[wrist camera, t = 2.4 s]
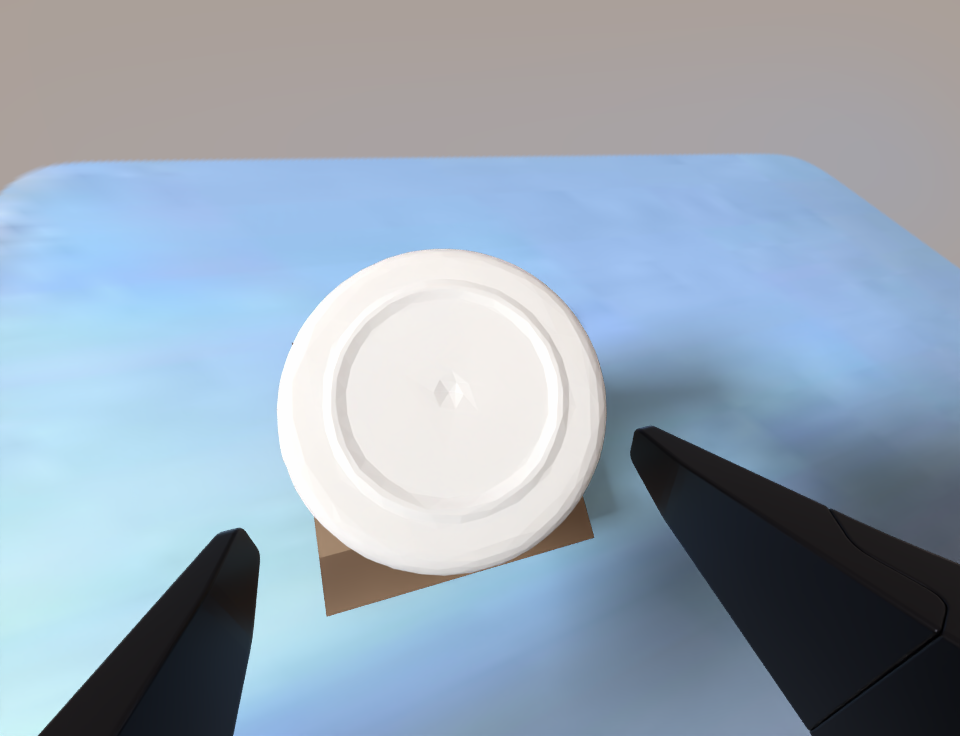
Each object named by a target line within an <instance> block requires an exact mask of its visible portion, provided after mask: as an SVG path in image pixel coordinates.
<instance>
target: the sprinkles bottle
mask: <svg viewBox="0 0 960 736" xmlns="http://www.w3.org/2000/svg"><path fill="white" fill-rule="evenodd" d="M606 414H607V411H606V392H605V385H604V380H603V376H602V372H601V368H600V364H599V361H598V358H597V355H596V352H595V350H594V347H593V345H592V343H591V341H590V339H589V337H588V335H587V333H586V331H585V330H584V328H583V327H582V325H581V324H580V322H579V320H578V319H577V317H576V316H575V315H574V313H573V312H572V311H571V310H570V308H569V307H568V306H567V305H566V304H565V303H564V301H563V300H562V299H561V298H560V297H559V296H558V295H557V294H556V293H555V292H553V291H552V290H551V289H550V288H549V287H548V286H547V285H545V284H544V283H543V282H541V281H540V280H539V279H537V278H536V277H534V276H533V275H531V274H530V273H528V272H526V271H525V270H523V269H521V268H519V267H517V266H515V265H513V264H511V263H508V262H506V261H504V260H501V259H498V258H495V257H492V256H489V255H486V254H482V253H477V252H473V251H466V250H456V249H431V250H421V251H414V252H408V253H404V254H401V255H397V256H394V257H390V258H387V259H384V260H382V261H380V262H378V263H376V264H374V265H371V266H369V267H367V268H365V269H363V270H361V271H359V272H358V273H356V274H355V275H353V276H352V277H350V278H349V279H347V280H346V281H344V282H343V283H341V284H340V285H339V286H338V287H337V288H335V289H334V290H333V291H332V292H331V293H330V294H329V295H327V296H326V297H325V299H324V300H323V301H322V302H321V303H320V304H319V305H318V306H317V307H316V309H315V310H314V311H313V312H312V314H311V315H310V316H309V317H308V319H307V320H306V322H305V323H304V325H303V326H302V328H301V329H300V331H299V333H298V335H297V337H296V339H295V341H294V343H293V345H292V348H291V350H290V352H289V354H288V356H287V360H286V363H285V366H284V369H283V372H282V376H281V381H280V386H279V393H278V404H277V417H278V433H279V440H280V447H281V452H282V457H283V460H284V462H285V464H286V466H287V468H288V472H289V475H290V478H291V480H292V482H293V484H294V487H295V489H296V491H297V492H298V494H299V495H300V497H301V499H302V500H303V502H304V504H305V505H306V506H307V508H308V509H309V510H310V512H311V513H312V515H313V516H314V517H315V518H316V519H317V520H318V521H319V522H320V523H321V524H322V525H323V526H324V527H325V528H326V529H327V530H328V531H329V532H331V533H332V534H333V535H334V536H335V537H336V538H338V539H339V540H340V541H341V542H342V543H344V544H345V545H346V546H347V547H349V548H351V549H352V550H354V551H356V552H357V553H359V554H360V555H362V556H364V557H365V558H367V559H370V560H372V561H374V562H377V563H380V564H383V565H386V566H389V567H391V568H393V569H398V570H402V571H407V572H412V573H417V574H426V575H442V576H447V575H456V574H464V573H472V572H476V571H479V570H483V569H486V568H490V567H493V566H497V565H500V564H503V563H505V562H507V561H509V560H512V559H514V558H516V557H517V556H519V555H521V554H523V553H525V552H527V551H529V550H530V549H531V548H533V547H534V546H536V545H537V544H538V543H540V542H541V541H542V540H544V539H545V538H546V537H547V536H548V535H550V534H551V533H552V532H553V531H554V530H555V529H556V528H557V527H558V526H559V525H560V524H561V523H562V522H563V521H564V520H565V519H566V518H567V517H568V515H569V514H570V513H571V512H572V511H573V509H574V508H575V506H576V505H577V504H578V502H579V501H580V499H581V497H582V496H583V494H584V492H585V490H586V489H587V487H588V485H589V483H590V481H591V479H592V476H593V474H594V472H595V469H596V466H597V464H598V461H599V459H600V454H601V450H602V447H603V442H604V436H605V427H606Z"/></svg>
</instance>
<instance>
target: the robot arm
mask: <svg viewBox="0 0 960 736" xmlns="http://www.w3.org/2000/svg"><path fill="white" fill-rule="evenodd" d="M630 456H631V460H632V462H633V464H634V466H635V468H636V470H637V471H638V473H639V475H640V477H641V479H642V481H643V482H644V484H645V486H646V488H647V490H648V492H649V493H650V495H651V497H652V499H653V501H654V502H655V504H656V506H657V508H658V510H659V511H660V513H661V515H662V516H663V518H664V520H665V521H666V523H667V524H668V526H669V527H670V529H671V530H672V532H673V533H674V535H675V536H676V537H677V539H678V540H679V542H680V543H681V545H682V546H683V548H684V549H685V551H686V552H687V554H688V555H689V556H690V558H691V559H692V561H693V562H694V564H695V565H696V567H697V568H698V570H699V571H700V573H701V574H702V575H703V577H704V578H705V580H706V581H707V583H708V584H709V586H710V587H711V589H712V590H713V592H714V593H715V594H716V596H717V597H718V599H719V600H720V602H721V603H722V605H723V606H724V608H725V609H726V611H727V612H728V613H729V615H730V616H731V618H732V619H733V621H734V622H735V624H736V625H737V627H738V628H739V630H740V631H741V632H742V634H743V635H744V637H745V638H746V640H747V641H748V643H749V644H750V646H751V647H752V649H753V650H754V651H755V653H756V654H757V656H758V657H759V659H760V660H761V662H762V663H763V665H764V666H765V668H766V669H767V670H768V672H769V673H770V675H771V676H772V678H773V679H774V681H775V682H776V684H777V685H778V687H779V688H780V689H781V691H782V692H783V694H784V695H785V697H786V698H787V700H788V701H789V703H790V704H791V706H792V707H793V708H794V710H795V711H796V713H797V714H798V716H799V717H800V719H801V720H802V722H803V723H804V725H805V726H806V727H807V729H808V730H810V734H811V735H812V736H960V564H958V563H955V562H953V561H951V560H948V559H946V558H943V557H941V556H938V555H936V554H933V553H931V552H929V551H926V550H924V549H921V548H919V547H917V546H914V545H912V544H909V543H907V542H905V541H902V540H900V539H898V538H895V537H893V536H890V535H888V534H886V533H884V532H882V531H879V530H877V529H875V528H873V527H870V526H868V525H866V524H864V523H862V522H859V521H857V520H855V519H853V518H851V517H848V516H846V515H844V514H842V513H840V512H838V511H835V510H833V509H828V508H827V507H826V506H824V505H822V504H820V503H818V502H816V501H814V500H812V499H809V498H807V497H805V496H803V495H801V494H799V493H797V492H794V491H792V490H790V489H788V488H786V487H784V486H781V485H779V484H777V483H775V482H773V481H771V480H769V479H766V478H764V477H762V476H760V475H758V474H756V473H754V472H751V471H749V470H747V469H745V468H743V467H741V466H738V465H736V464H734V463H732V462H730V461H728V460H726V459H723V458H721V457H719V456H717V455H715V454H713V453H711V452H708V451H706V450H704V449H702V448H700V447H698V446H696V445H693V444H691V443H689V442H687V441H685V440H683V439H680V438H678V437H676V436H674V435H672V434H670V433H668V432H665V431H663V430H661V429H659V428H657V427H654V426H646V427H642V428H638V429H636V431H635V432H634V436H633V441H632V446H631V451H630ZM259 566H260V554H259V551H258V549H257V547H256V546H255V544H254V543H253V541H252V540H251V538H250V537H249V536H248V534H247V533H246V531H245V530H244V529H242V528H235V529H231V530H227V531H223V532H220V533H219V534H217V535H216V536H215V537H214V538H213V539H212V540H211V541H210V542H209V544H208V545H207V546H206V547H205V548H204V549H203V550H202V551H201V553H200V554H199V555H198V556H197V557H196V558H195V559H194V561H193V562H192V563H191V564H190V565H189V566H188V567H187V568H186V570H185V571H184V572H183V573H182V574H181V575H180V576H179V577H178V579H177V580H176V581H175V582H174V583H173V584H172V585H171V586H170V588H169V589H168V590H167V591H166V592H165V593H164V594H163V595H162V597H161V598H160V599H159V600H158V601H157V602H156V603H155V604H154V606H153V607H152V608H151V609H150V610H149V611H148V612H147V613H146V615H145V616H144V617H143V618H142V619H141V620H140V621H139V622H138V624H137V625H136V626H135V627H134V628H133V629H132V630H131V631H130V633H129V634H128V635H127V636H126V637H125V638H124V639H123V640H122V642H121V643H120V644H119V645H118V646H117V647H116V648H115V649H114V651H113V652H112V653H111V654H110V655H109V656H108V657H107V658H106V660H105V661H104V662H103V663H102V664H101V665H100V666H99V667H98V669H97V670H96V671H95V672H94V673H93V674H92V675H91V676H90V678H89V679H88V680H87V681H86V682H85V683H84V684H83V685H82V687H81V688H80V689H79V690H78V691H77V692H76V693H75V694H74V696H73V697H72V698H71V699H70V700H69V701H68V702H67V703H66V705H65V706H64V707H63V708H62V709H61V710H60V711H59V712H58V714H57V715H56V716H55V717H54V718H53V719H52V720H51V721H50V723H49V724H48V725H47V726H46V727H45V728H44V729H43V730H42V732H41V733H40V734H39V735H38V736H233V734H234V729H235V724H236V719H237V714H238V709H239V704H240V699H241V694H242V689H243V684H244V679H245V674H246V669H247V664H248V659H249V654H250V649H251V643H252V637H253V629H254V619H255V608H256V598H257V587H258V576H259Z"/></svg>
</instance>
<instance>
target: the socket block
mask: <svg viewBox="0 0 960 736" xmlns="http://www.w3.org/2000/svg"><path fill="white" fill-rule="evenodd" d="M292 345H293V343H292ZM314 520H315V528H316V536H317V544H318V552H319V560H320V568H321V576H322V584H323V592H324V600H325V608H326V616H330V615H334V614H337V613H341V612H344V611H347V610H351V609H354V608H358V607H361V606H364V605H368V604H371V603H374V602H378V601H381V600H385V599H388V598H391V597H395V596H398V595H402V594H405V593H408V592H412V591H415V590H418V589H422V588H425V587H429V586H432V585H435V584H439V583H442V582H446V581H449V580H452V579H456V578H459V577H462V576H466V575H469V574H473V573H476V572H479V571H483V570H486V569H490V568H493V567H496V566H493V567H490V568H486V569H483V570H479V571H476V572H472V573H464V574H456V575H447V576H442V575H426V574H417V573H412V572H407V571H402V570H398V569H393V568H391V567H389V566H386V565H383V564H380V563H377V562H374V561H372V560H370V559H367V558H365V557H364V556H362V555H360V554H359V553H357V552H356V551H354V550H352V549H351V548H349V547H347V546H346V545H345V544H344V543H342V542H341V541H340V540H339V539H338V538H336V537H335V536H334V535H333V534H332V533H331V532H329V531H328V530H327V529H326V528H325V527H324V526H323V525H322V524H321V523H320V522H319V521H318V520H317V519H316V518H315V517H314ZM591 538H594V534H593V531H592V527H591V524H590V520H589V517H588V513H587V509H586V506H585V502H584V499H583V496H582V497H581V499H580V501H579V502H578V504H577V505H576V506H575V508H574V509H573V511H572V512H571V513H570V514H569V515H568V517H567V518H566V519H565V520H564V521H563V522H562V523H561V524H560V525H559V526H558V527H557V528H556V529H555V530H554V531H553V532H552V533H551V534H550V535H548V536H547V537H546V538H545V539H544V540H542V541H541V542H540V543H538V544H537V545H536V546H534V547H533V548H531V549H530V550H529V551H527V552H525V553H523V554H521V555H519V556H517V557H516V558H514V559H512V560H509V561H507V562H505V563H503V564H507V563H510V562H513V561H517V560H520V559H523V558H527V557H530V556H534V555H537V554H540V553H544V552H547V551H551V550H554V549H557V548H561V547H564V546H567V545H571V544H574V543H578V542H581V541H584V540H588V539H591ZM503 564H500V565H503ZM500 565H497V566H500Z"/></svg>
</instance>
